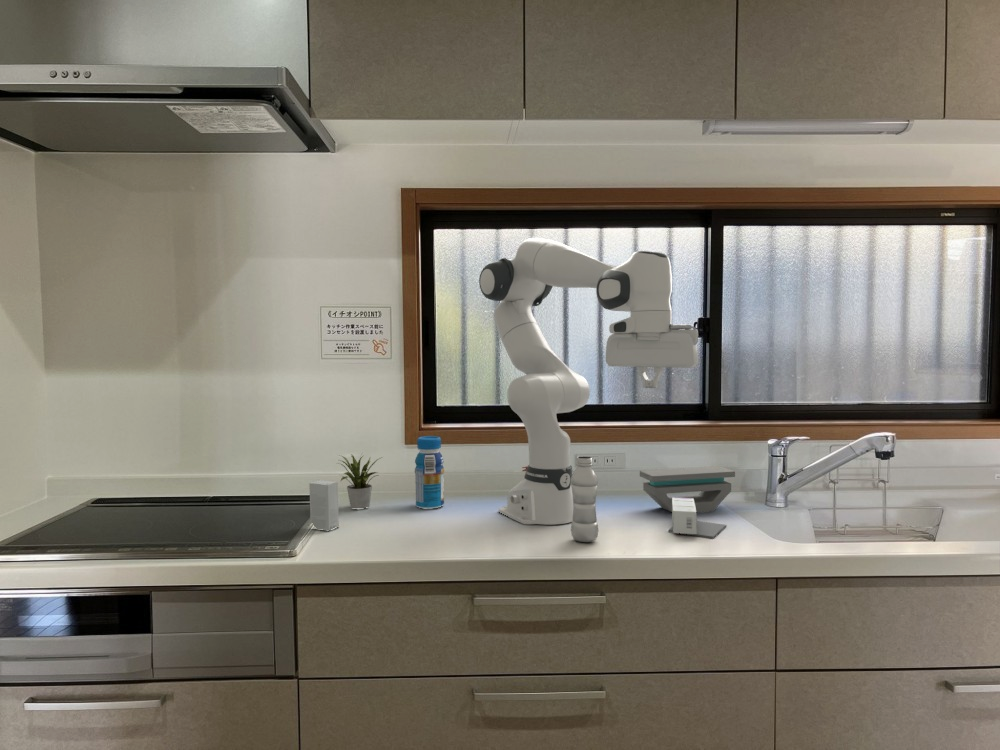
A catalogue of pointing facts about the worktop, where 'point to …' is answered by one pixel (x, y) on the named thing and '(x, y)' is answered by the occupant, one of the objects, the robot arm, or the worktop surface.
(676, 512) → the syrup box
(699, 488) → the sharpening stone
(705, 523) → the mat
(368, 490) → the house plant
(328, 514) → the skincare box
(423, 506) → the beverage bottle
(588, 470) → the plastic bottle
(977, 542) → the worktop surface
